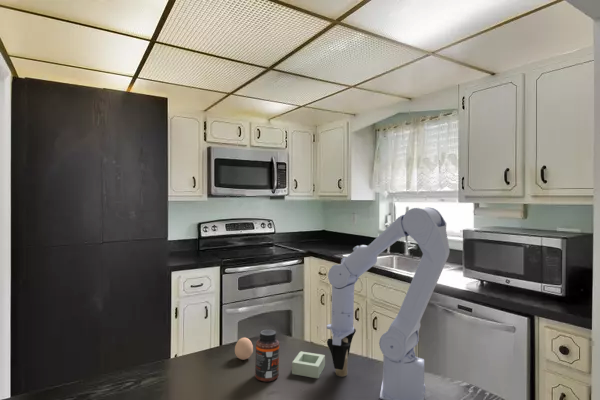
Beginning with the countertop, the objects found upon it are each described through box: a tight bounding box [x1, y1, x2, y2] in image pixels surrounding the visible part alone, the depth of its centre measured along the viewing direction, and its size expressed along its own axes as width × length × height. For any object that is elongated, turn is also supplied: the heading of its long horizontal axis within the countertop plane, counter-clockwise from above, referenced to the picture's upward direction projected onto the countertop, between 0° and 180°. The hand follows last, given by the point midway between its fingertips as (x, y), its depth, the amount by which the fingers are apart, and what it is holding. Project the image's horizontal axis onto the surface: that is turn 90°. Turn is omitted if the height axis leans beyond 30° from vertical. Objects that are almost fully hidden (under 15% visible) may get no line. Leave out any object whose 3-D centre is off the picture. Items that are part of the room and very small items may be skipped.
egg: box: [234, 337, 254, 361], centre depth 99 cm, size 5×5×6 cm
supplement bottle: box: [254, 329, 280, 382], centre depth 90 cm, size 6×6×11 cm
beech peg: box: [335, 337, 349, 377], centre depth 92 cm, size 3×3×9 cm
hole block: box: [291, 350, 326, 379], centre depth 94 cm, size 7×7×3 cm
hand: (341, 362), depth 92 cm, fingers open, 7 cm apart
